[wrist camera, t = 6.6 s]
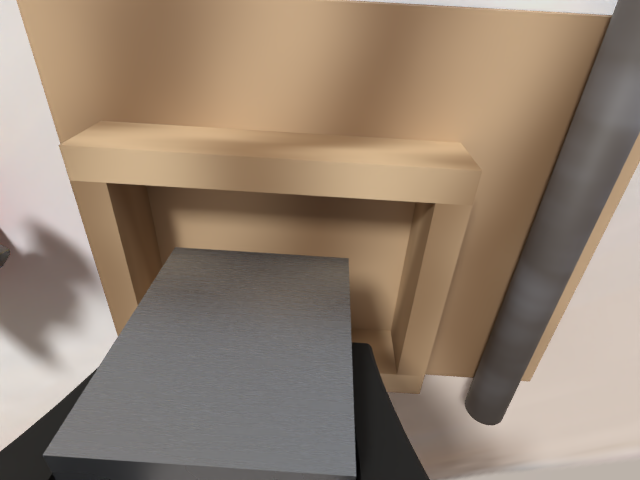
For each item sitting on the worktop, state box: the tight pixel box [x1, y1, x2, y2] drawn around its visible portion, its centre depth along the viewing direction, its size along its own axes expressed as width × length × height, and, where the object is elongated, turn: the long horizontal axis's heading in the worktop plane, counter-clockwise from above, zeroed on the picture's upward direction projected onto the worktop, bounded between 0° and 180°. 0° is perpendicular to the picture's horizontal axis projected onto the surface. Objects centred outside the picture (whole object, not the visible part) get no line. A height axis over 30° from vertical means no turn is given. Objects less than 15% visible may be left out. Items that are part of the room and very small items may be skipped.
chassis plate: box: [17, 0, 640, 425], centre depth 14 cm, size 18×16×3 cm
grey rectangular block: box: [43, 247, 356, 480], centre depth 9 cm, size 4×4×6 cm
